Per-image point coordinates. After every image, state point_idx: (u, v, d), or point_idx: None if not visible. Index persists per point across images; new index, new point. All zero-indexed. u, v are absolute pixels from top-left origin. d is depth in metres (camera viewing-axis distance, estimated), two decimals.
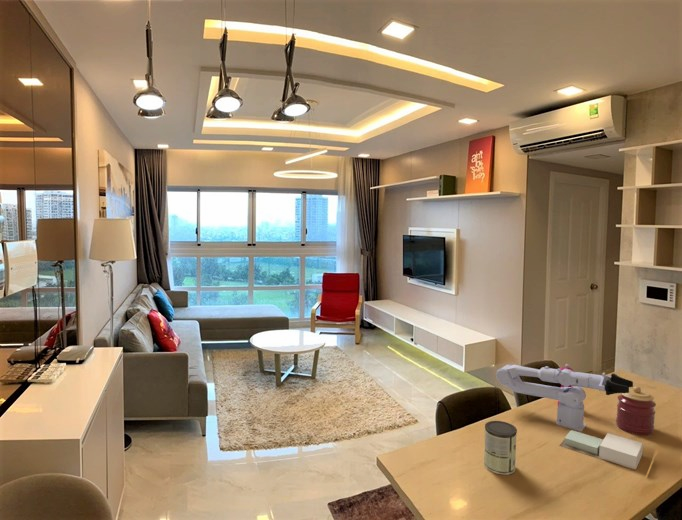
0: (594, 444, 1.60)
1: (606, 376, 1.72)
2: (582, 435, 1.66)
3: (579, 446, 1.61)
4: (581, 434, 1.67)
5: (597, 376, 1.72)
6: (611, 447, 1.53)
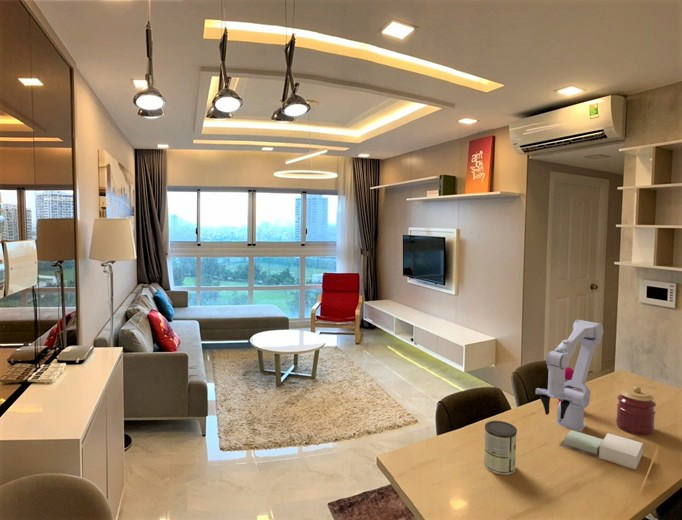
0: (594, 444, 1.60)
1: (559, 398, 1.67)
2: (582, 435, 1.66)
3: (579, 446, 1.61)
4: (581, 434, 1.67)
5: (550, 390, 1.68)
6: (611, 447, 1.53)
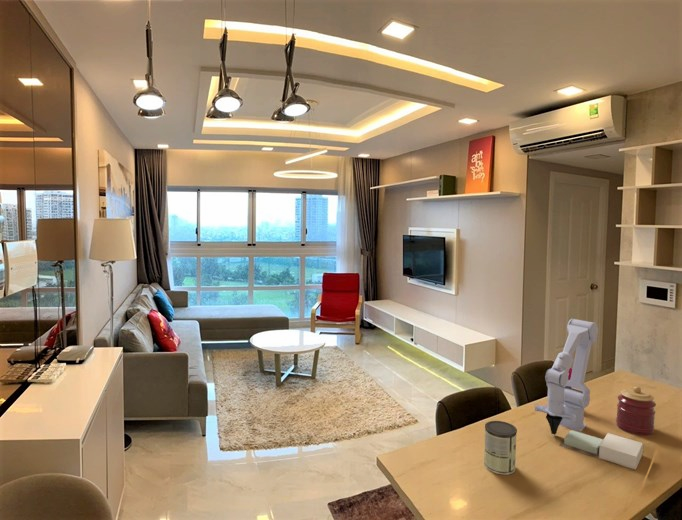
0: (594, 444, 1.60)
1: (558, 416, 1.67)
2: (582, 435, 1.66)
3: (579, 446, 1.61)
4: (581, 434, 1.67)
5: (550, 407, 1.69)
6: (611, 447, 1.53)
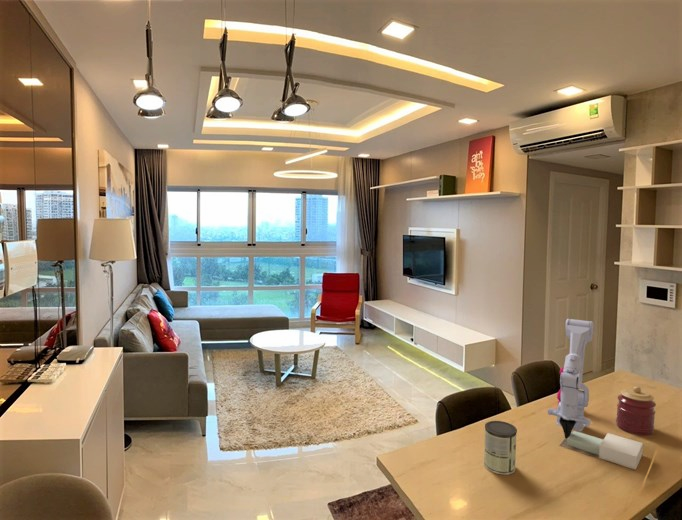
0: (597, 445, 1.59)
1: (572, 419, 1.64)
2: (585, 436, 1.65)
3: (582, 447, 1.60)
4: (584, 435, 1.66)
5: (563, 411, 1.66)
6: (611, 447, 1.53)
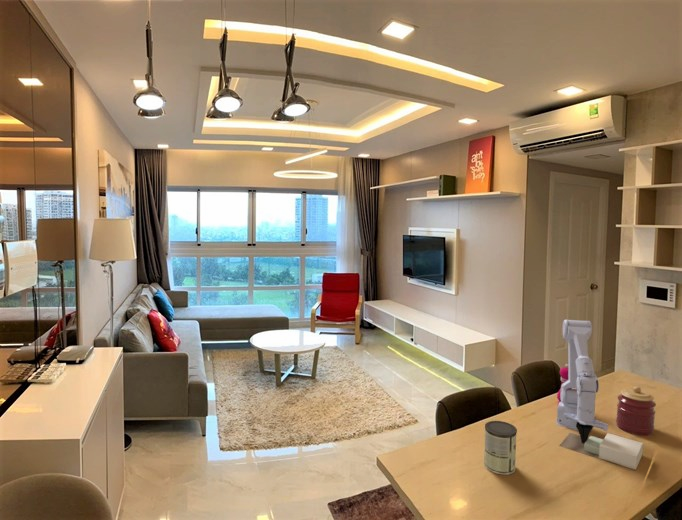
0: None
1: (589, 424, 1.60)
2: None
3: None
4: (601, 440, 1.62)
5: (580, 416, 1.62)
6: (611, 447, 1.53)
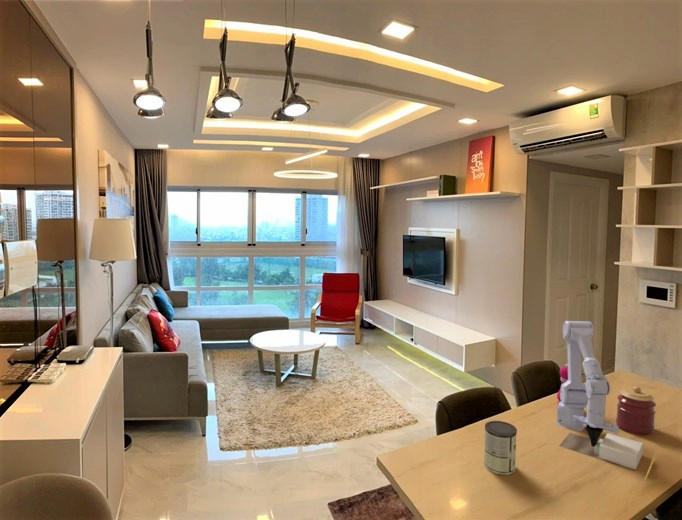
0: None
1: (599, 427, 1.58)
2: None
3: None
4: None
5: (590, 418, 1.59)
6: (611, 447, 1.53)
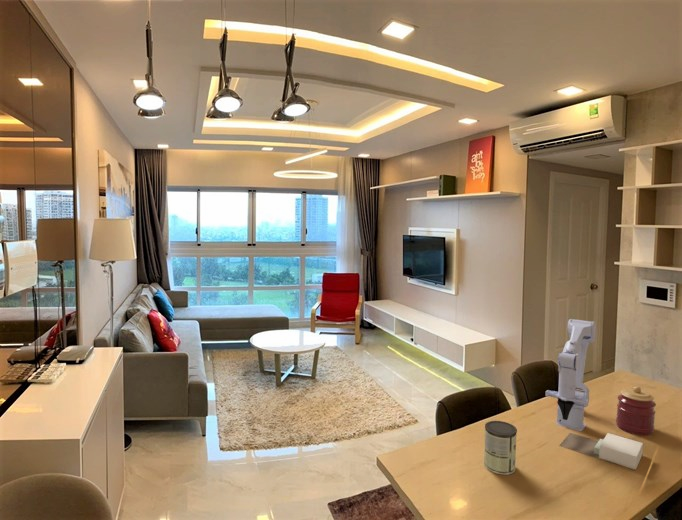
0: None
1: (570, 400, 1.63)
2: None
3: None
4: None
5: (561, 392, 1.64)
6: (611, 447, 1.53)
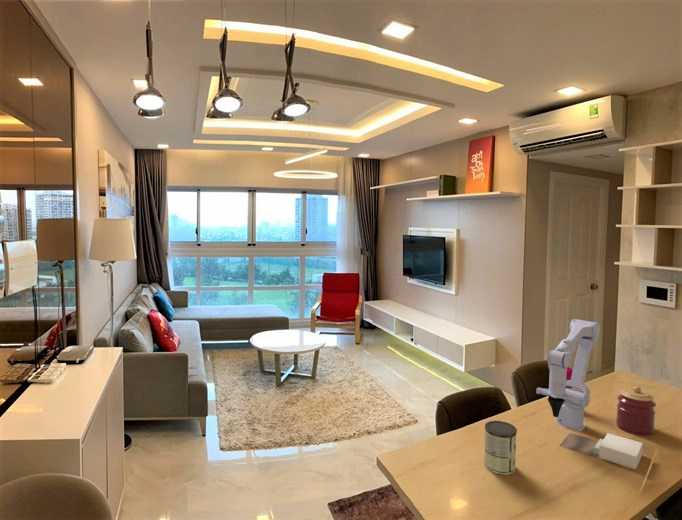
0: None
1: (560, 398, 1.65)
2: None
3: None
4: None
5: (551, 389, 1.66)
6: (611, 447, 1.53)
